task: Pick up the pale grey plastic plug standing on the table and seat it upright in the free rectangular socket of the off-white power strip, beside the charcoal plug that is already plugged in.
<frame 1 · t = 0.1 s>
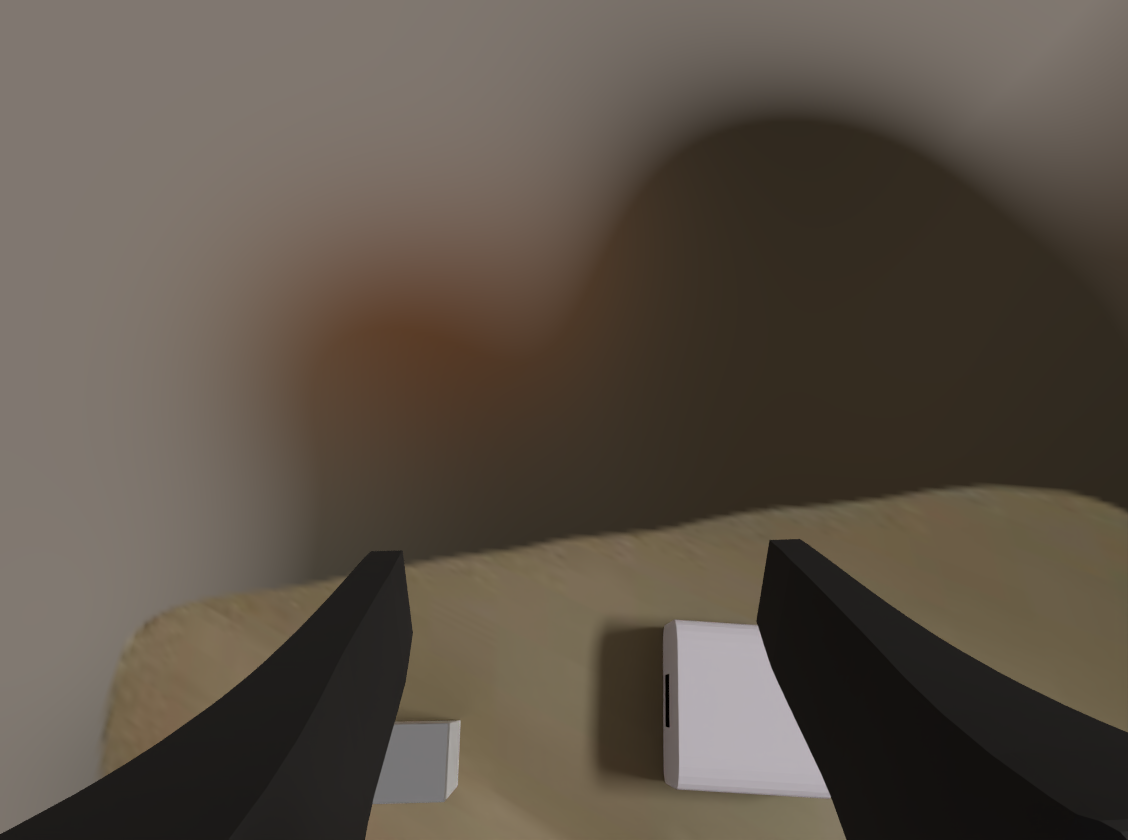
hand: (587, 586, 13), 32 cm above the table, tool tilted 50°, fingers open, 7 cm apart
charger: (774, 707, 42), on the table
grey plug: (418, 753, 39), on the table
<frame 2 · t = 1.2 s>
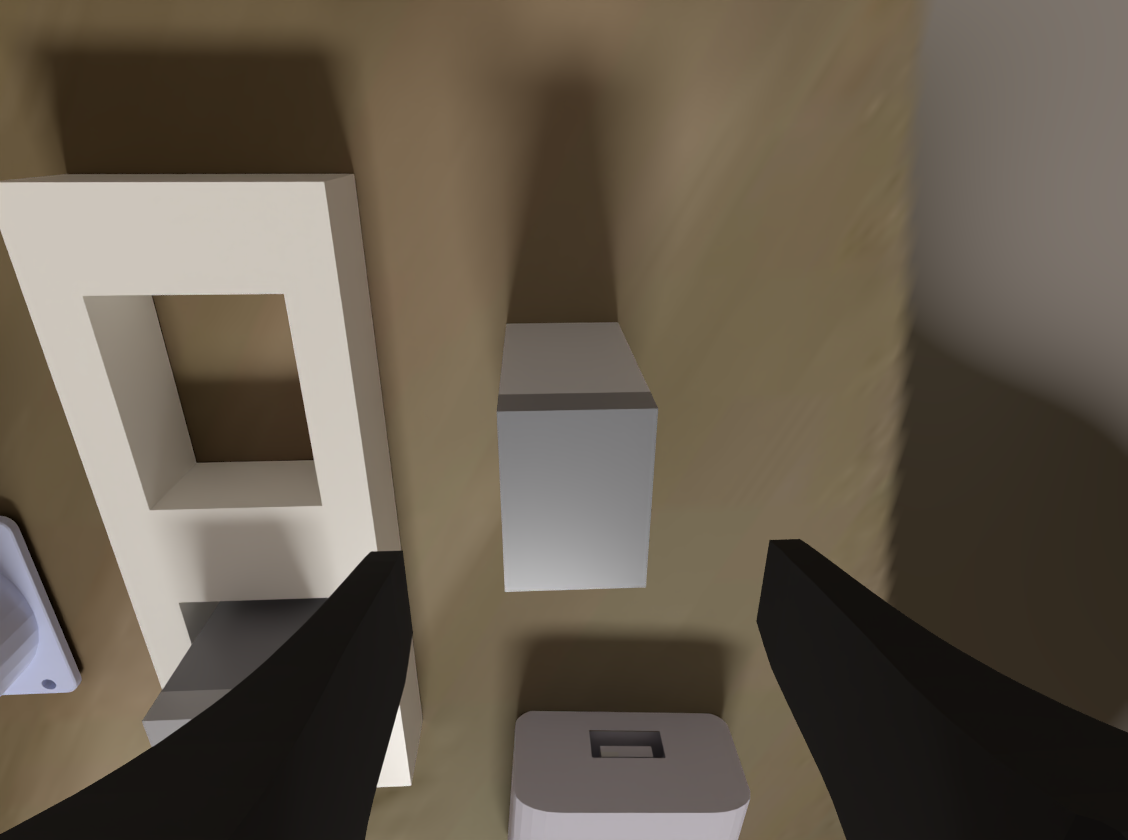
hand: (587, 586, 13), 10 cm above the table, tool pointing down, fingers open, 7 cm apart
charcoal plug: (305, 613, 25), resting in power strip
charger: (602, 814, 31), on the table
power strip: (281, 504, 23), on the table
grey plug: (562, 394, 22), on the table
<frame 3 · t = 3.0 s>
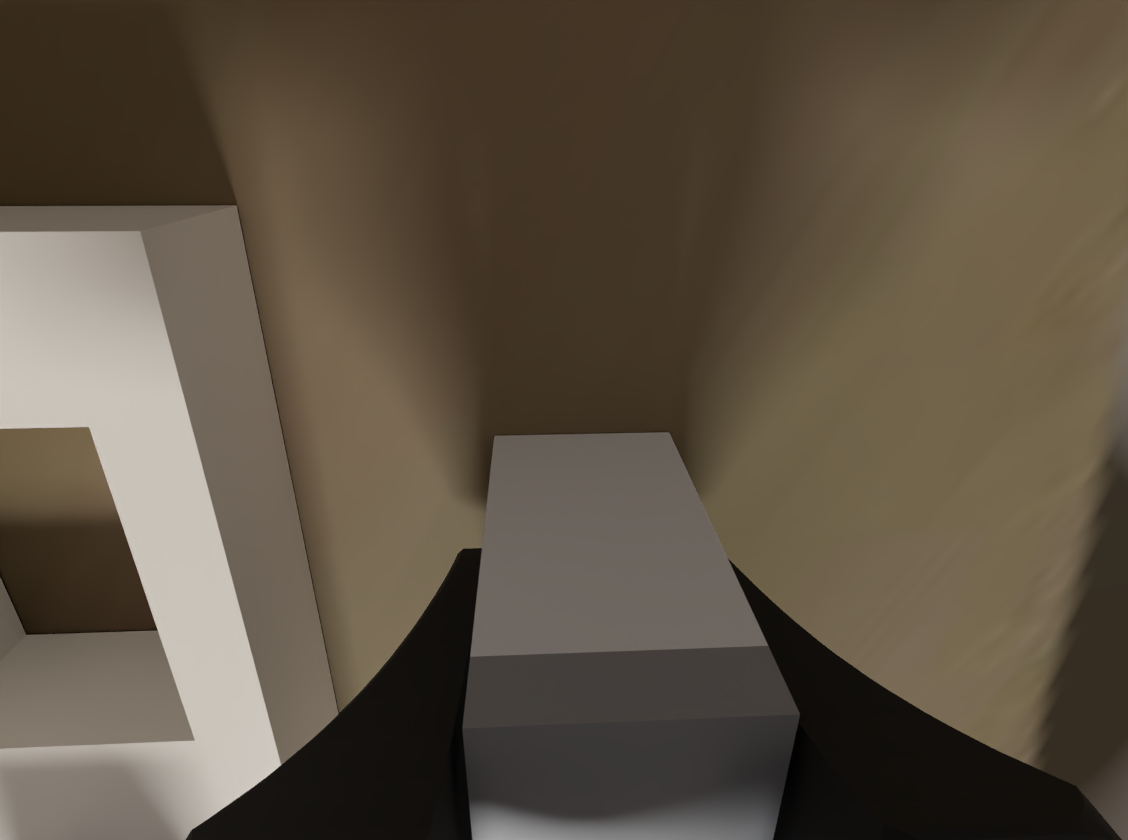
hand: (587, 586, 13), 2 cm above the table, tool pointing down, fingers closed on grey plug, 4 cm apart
power strip: (162, 687, 15), on the table
grey plug: (580, 535, 14), on the table, touching gripper
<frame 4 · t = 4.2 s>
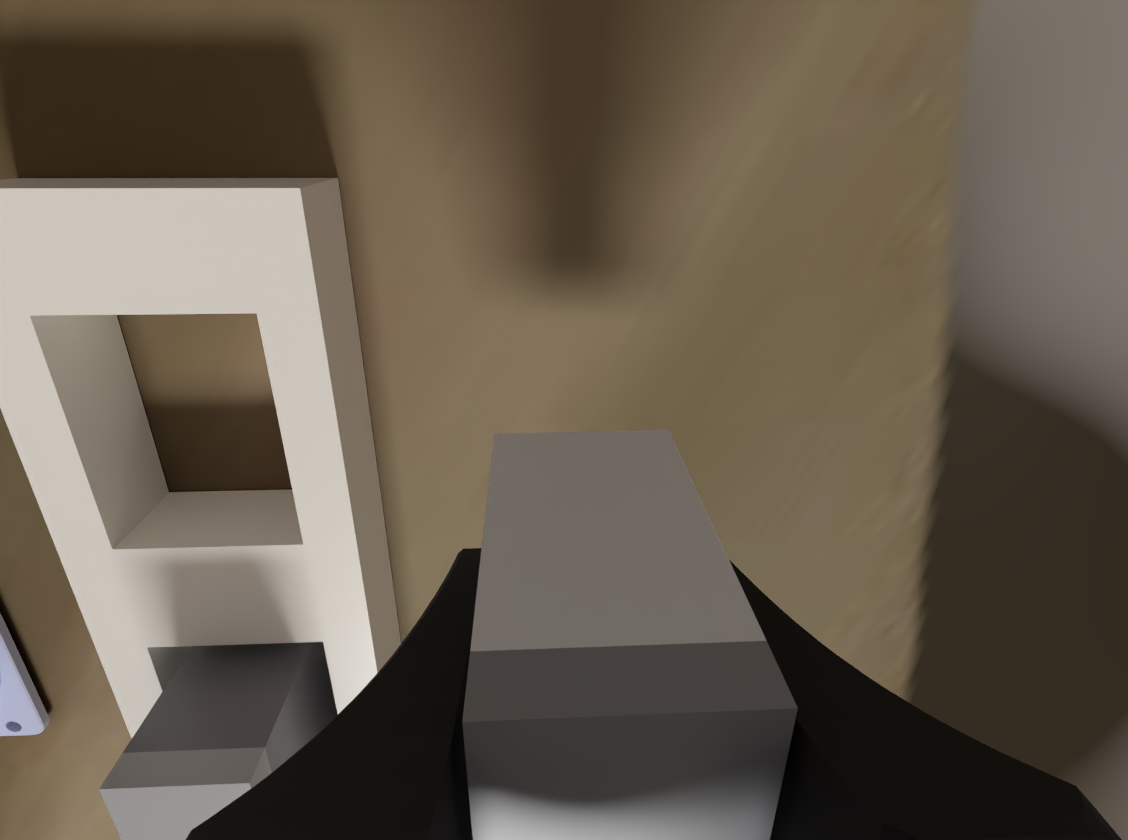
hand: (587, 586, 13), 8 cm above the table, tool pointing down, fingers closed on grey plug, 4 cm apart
charcoal plug: (290, 651, 23), resting in power strip
power strip: (262, 536, 21), on the table
grey plug: (580, 533, 14), point 6 cm above the table, touching gripper
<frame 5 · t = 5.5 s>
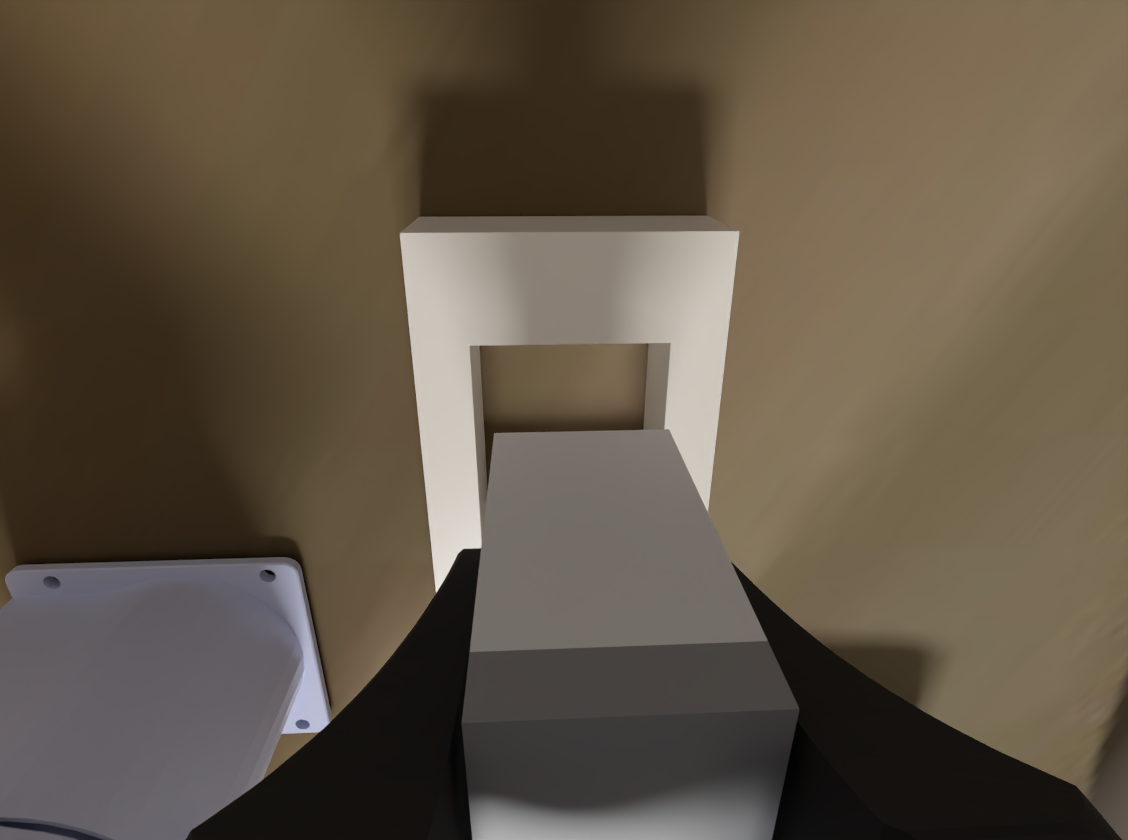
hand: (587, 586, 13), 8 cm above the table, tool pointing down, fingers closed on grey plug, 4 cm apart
power strip: (563, 544, 22), on the table
grey plug: (580, 533, 14), point 7 cm above the table, touching gripper
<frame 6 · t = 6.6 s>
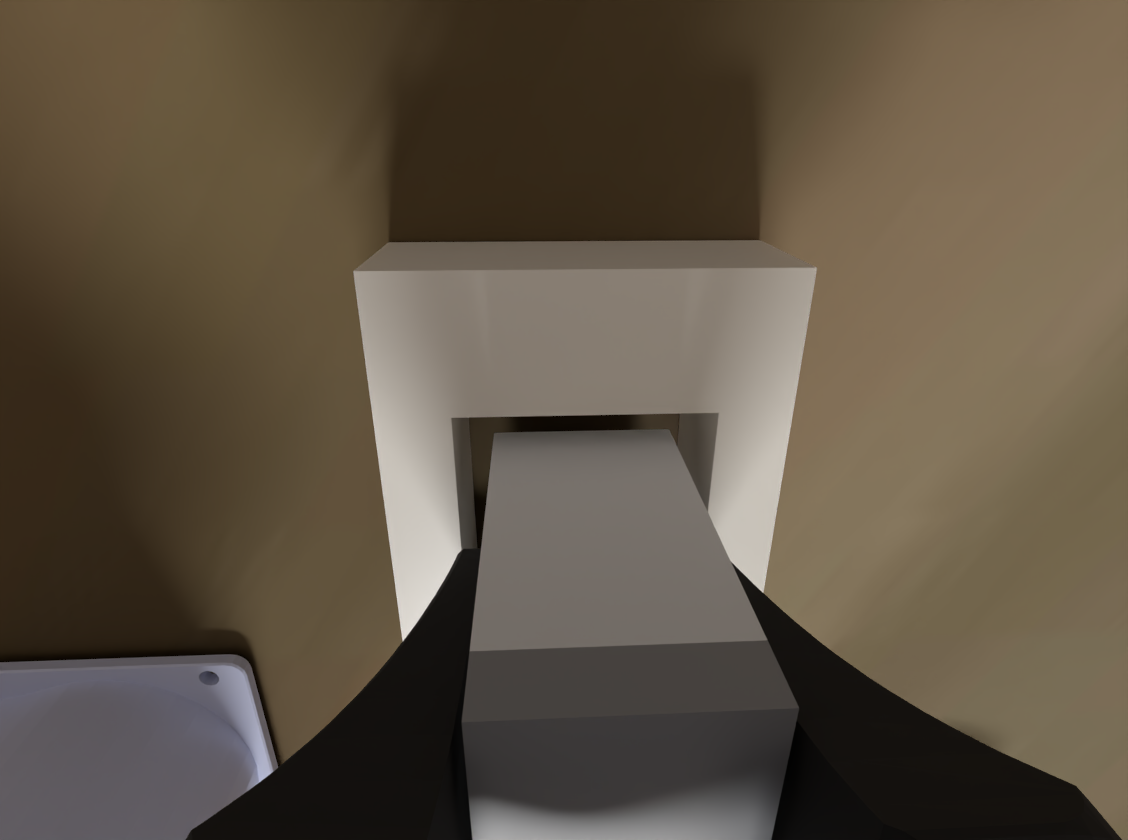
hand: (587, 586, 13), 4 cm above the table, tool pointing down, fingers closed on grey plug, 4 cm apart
power strip: (572, 635, 18), on the table
grey plug: (580, 532, 14), point 2 cm above the table, touching gripper
when the fingers open (4 cm above the table, at t = 7.5 s): grey plug drops 2 cm, resting in power strip.
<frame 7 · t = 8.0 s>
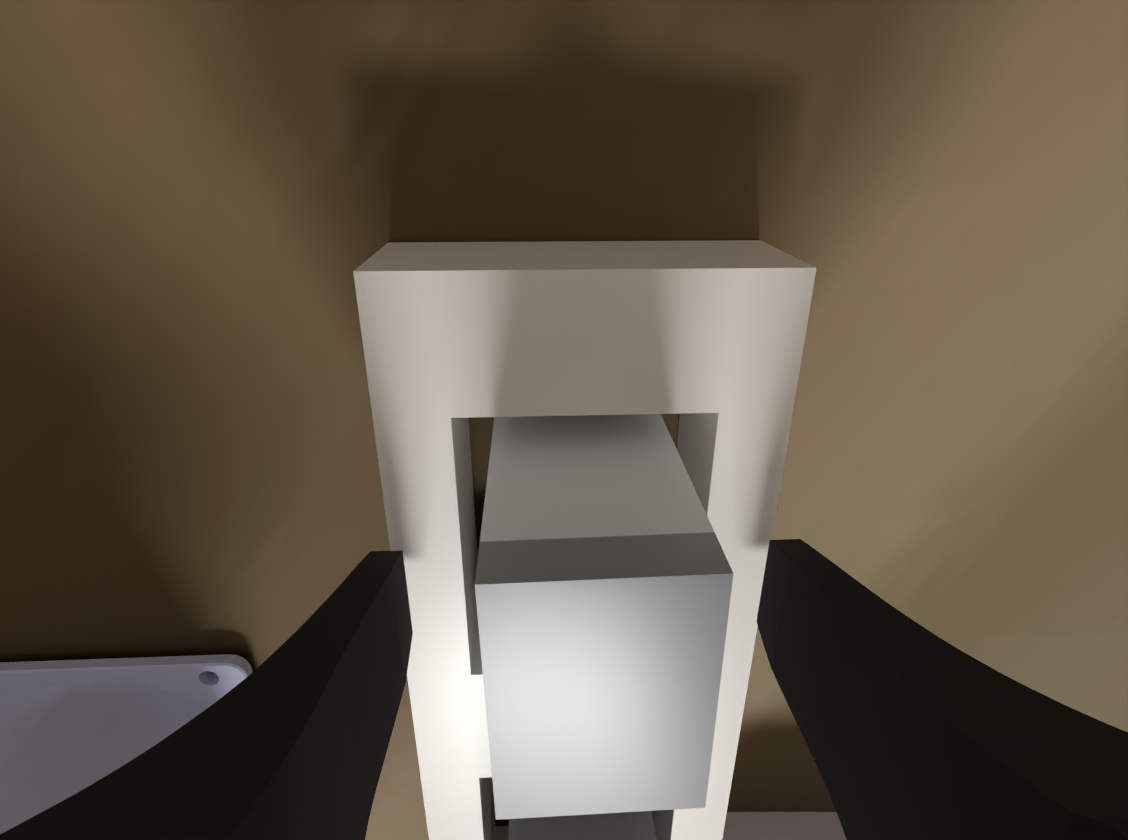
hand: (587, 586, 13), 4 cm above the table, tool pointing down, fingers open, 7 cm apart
charcoal plug: (571, 754, 20), resting in power strip
power strip: (572, 635, 18), on the table
grey plug: (573, 480, 16), resting in power strip
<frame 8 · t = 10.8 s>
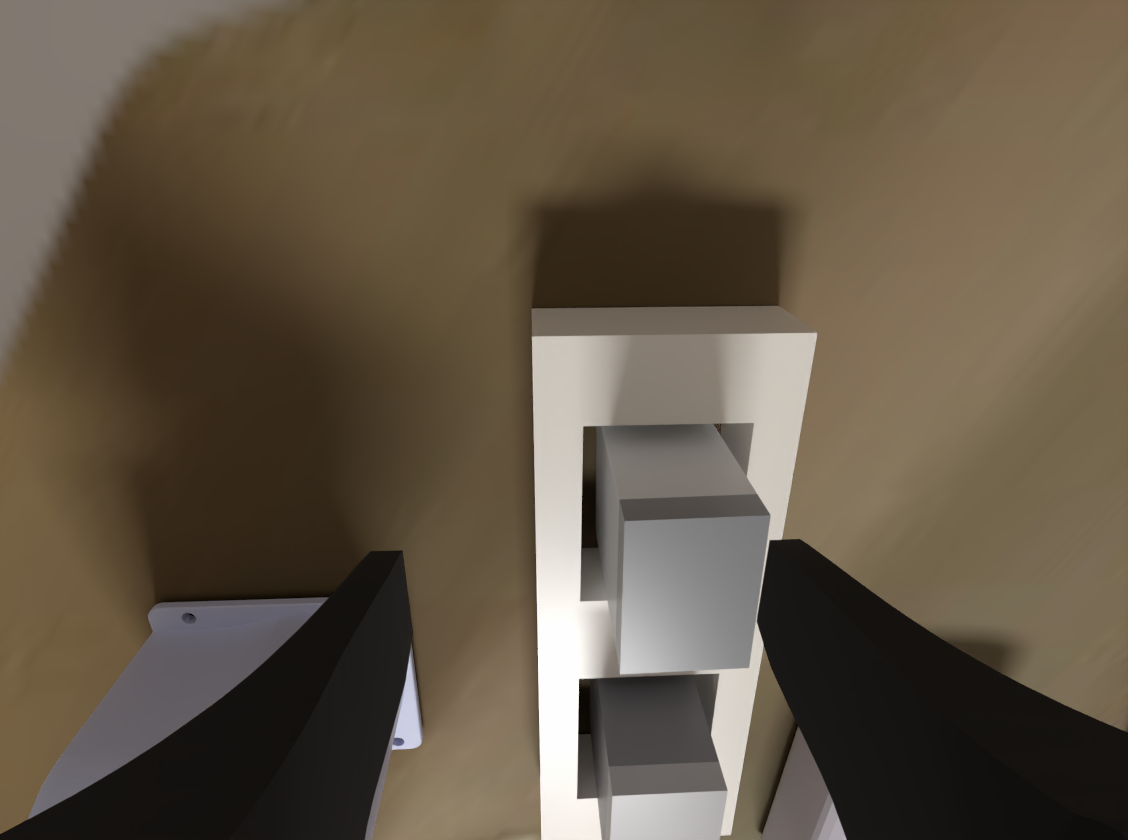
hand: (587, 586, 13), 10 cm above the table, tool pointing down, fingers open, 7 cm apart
charcoal plug: (632, 676, 27), resting in power strip
charger: (846, 811, 32), on the table
power strip: (638, 583, 25), on the table
grey plug: (645, 469, 23), resting in power strip
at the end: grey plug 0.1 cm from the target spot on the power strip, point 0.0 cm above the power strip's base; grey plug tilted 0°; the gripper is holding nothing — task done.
